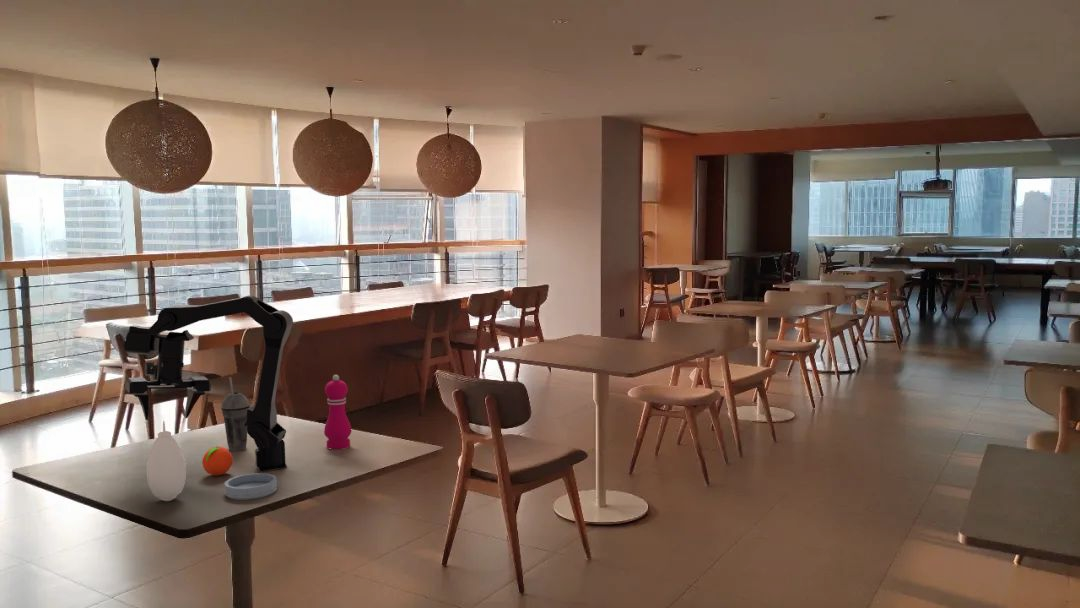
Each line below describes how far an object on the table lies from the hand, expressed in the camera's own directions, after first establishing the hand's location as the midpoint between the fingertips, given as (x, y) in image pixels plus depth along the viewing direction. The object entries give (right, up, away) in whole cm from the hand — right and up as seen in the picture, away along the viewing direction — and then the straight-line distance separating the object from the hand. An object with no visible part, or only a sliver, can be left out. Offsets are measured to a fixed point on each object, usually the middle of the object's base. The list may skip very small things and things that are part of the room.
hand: (166, 418), depth 203 cm
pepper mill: (+38, -11, +21) cm, 44 cm away
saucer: (+27, -14, -16) cm, 34 cm away
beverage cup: (+10, -11, +20) cm, 25 cm away
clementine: (+14, -14, -3) cm, 20 cm away
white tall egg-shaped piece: (+10, -15, -21) cm, 28 cm away
